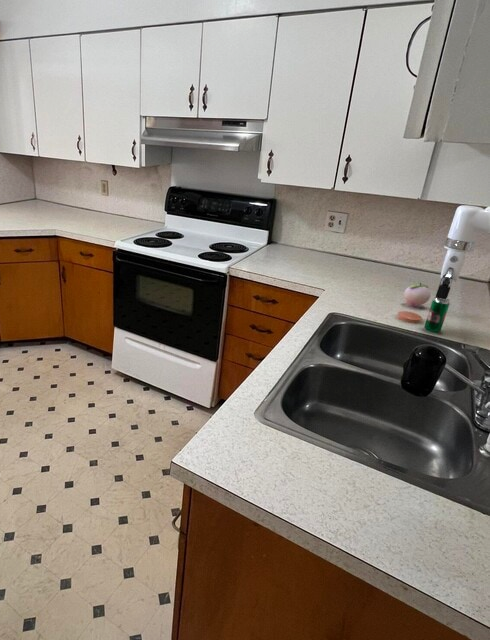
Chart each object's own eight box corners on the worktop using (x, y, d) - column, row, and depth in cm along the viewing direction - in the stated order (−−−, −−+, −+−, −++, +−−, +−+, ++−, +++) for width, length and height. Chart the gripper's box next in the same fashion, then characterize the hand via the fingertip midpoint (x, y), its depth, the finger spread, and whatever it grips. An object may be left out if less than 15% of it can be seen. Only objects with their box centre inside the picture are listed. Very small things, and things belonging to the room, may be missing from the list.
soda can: (420, 328, 150) (430, 296, 145) (429, 326, 152) (439, 295, 147) (434, 334, 146) (445, 302, 141) (443, 332, 148) (454, 300, 143)
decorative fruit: (416, 311, 164) (423, 287, 161) (397, 304, 171) (404, 280, 167) (431, 308, 168) (439, 285, 164) (412, 301, 175) (419, 278, 171)
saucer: (422, 318, 158) (423, 315, 158) (419, 325, 152) (420, 321, 152) (398, 312, 163) (399, 309, 162) (395, 319, 157) (396, 315, 156)
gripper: (471, 252, 129) (453, 304, 135) (473, 242, 142) (456, 290, 148) (443, 247, 132) (426, 298, 139) (447, 238, 146) (432, 285, 152)
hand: (442, 294), depth 144 cm, fingers open, 9 cm apart
